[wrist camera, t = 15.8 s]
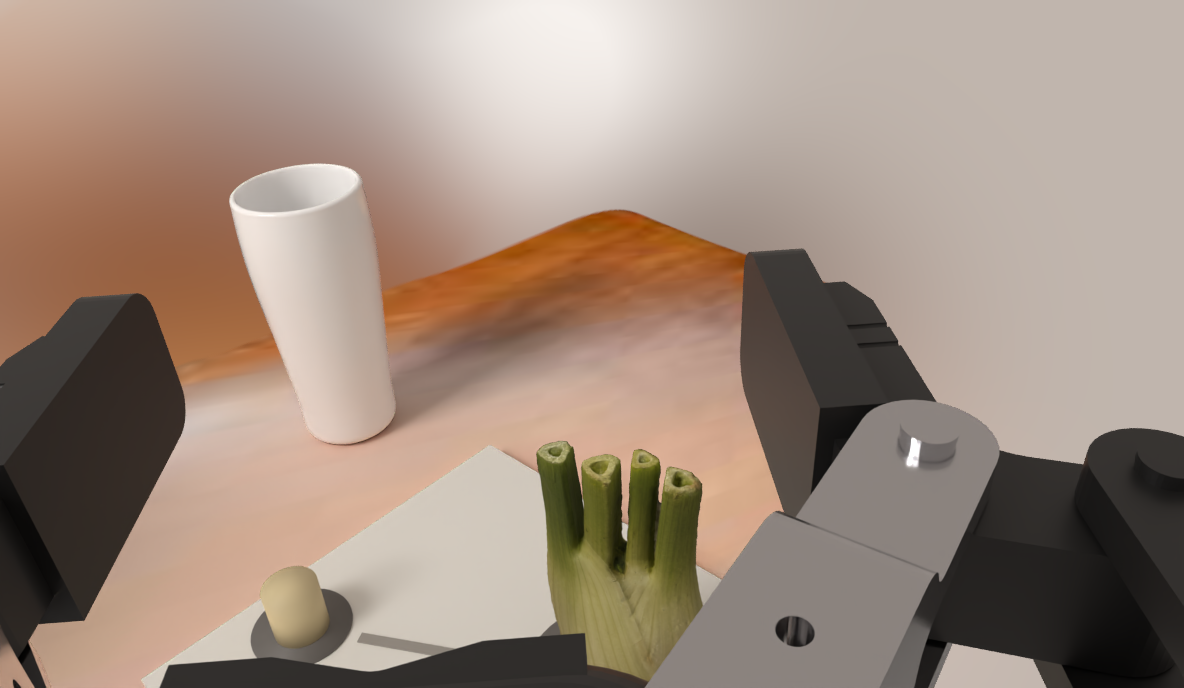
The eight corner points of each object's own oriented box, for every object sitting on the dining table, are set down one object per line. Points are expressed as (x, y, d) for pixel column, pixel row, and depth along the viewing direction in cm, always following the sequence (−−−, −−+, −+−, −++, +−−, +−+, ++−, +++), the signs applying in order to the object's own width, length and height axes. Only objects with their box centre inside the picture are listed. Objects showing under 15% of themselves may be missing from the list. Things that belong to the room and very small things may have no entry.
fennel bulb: (542, 674, 38) (514, 447, 31) (631, 611, 40) (622, 389, 34) (638, 773, 34) (628, 536, 27) (729, 695, 36) (740, 463, 30)
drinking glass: (347, 378, 58) (294, 155, 50) (432, 404, 56) (390, 172, 48) (270, 438, 54) (197, 202, 46) (359, 470, 51) (298, 224, 43)
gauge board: (146, 691, 39) (120, 638, 37) (491, 455, 51) (484, 407, 49) (461, 1073, 27) (445, 1023, 25) (814, 647, 39) (821, 592, 37)
